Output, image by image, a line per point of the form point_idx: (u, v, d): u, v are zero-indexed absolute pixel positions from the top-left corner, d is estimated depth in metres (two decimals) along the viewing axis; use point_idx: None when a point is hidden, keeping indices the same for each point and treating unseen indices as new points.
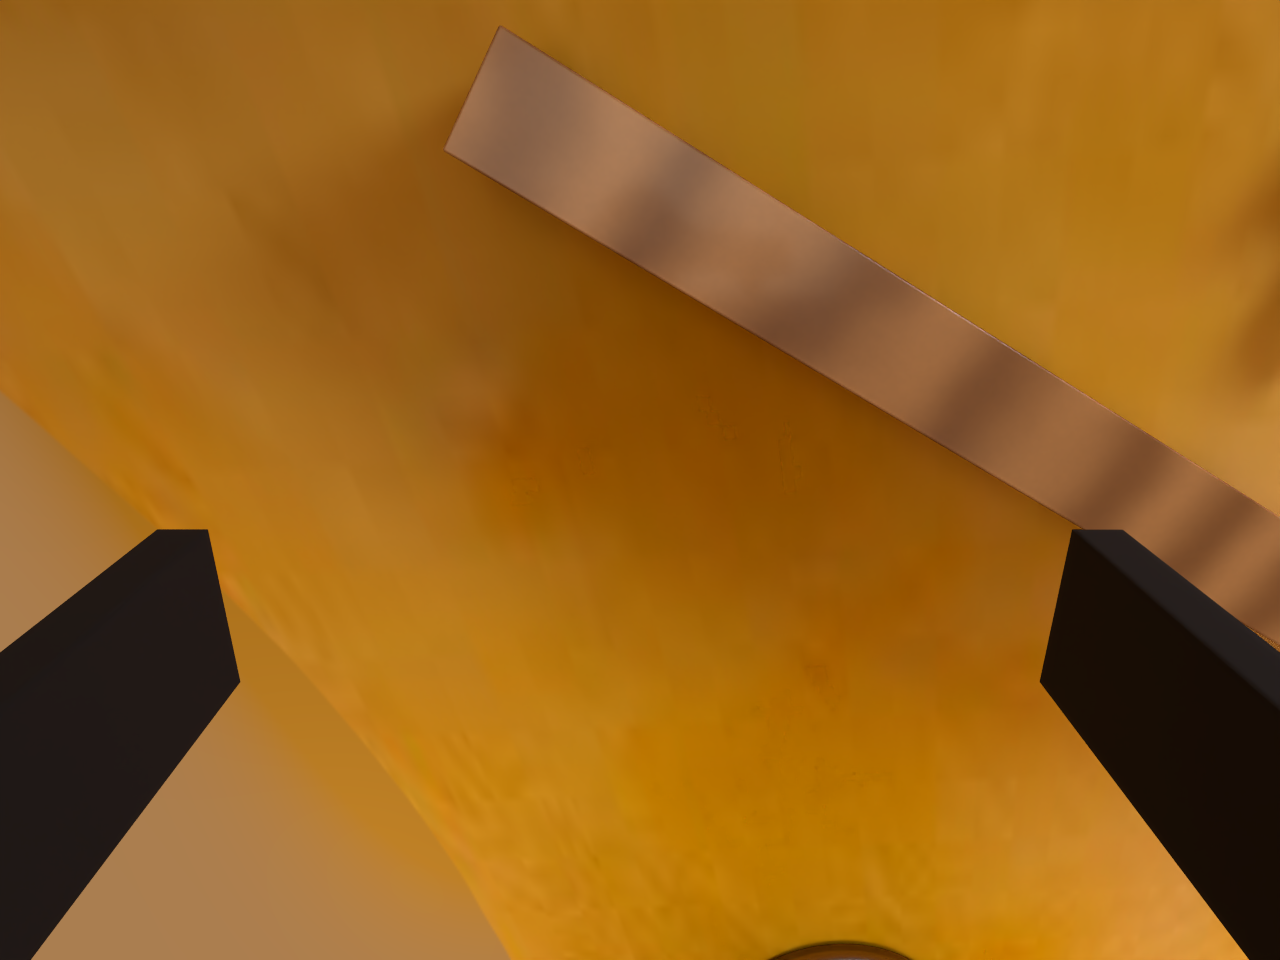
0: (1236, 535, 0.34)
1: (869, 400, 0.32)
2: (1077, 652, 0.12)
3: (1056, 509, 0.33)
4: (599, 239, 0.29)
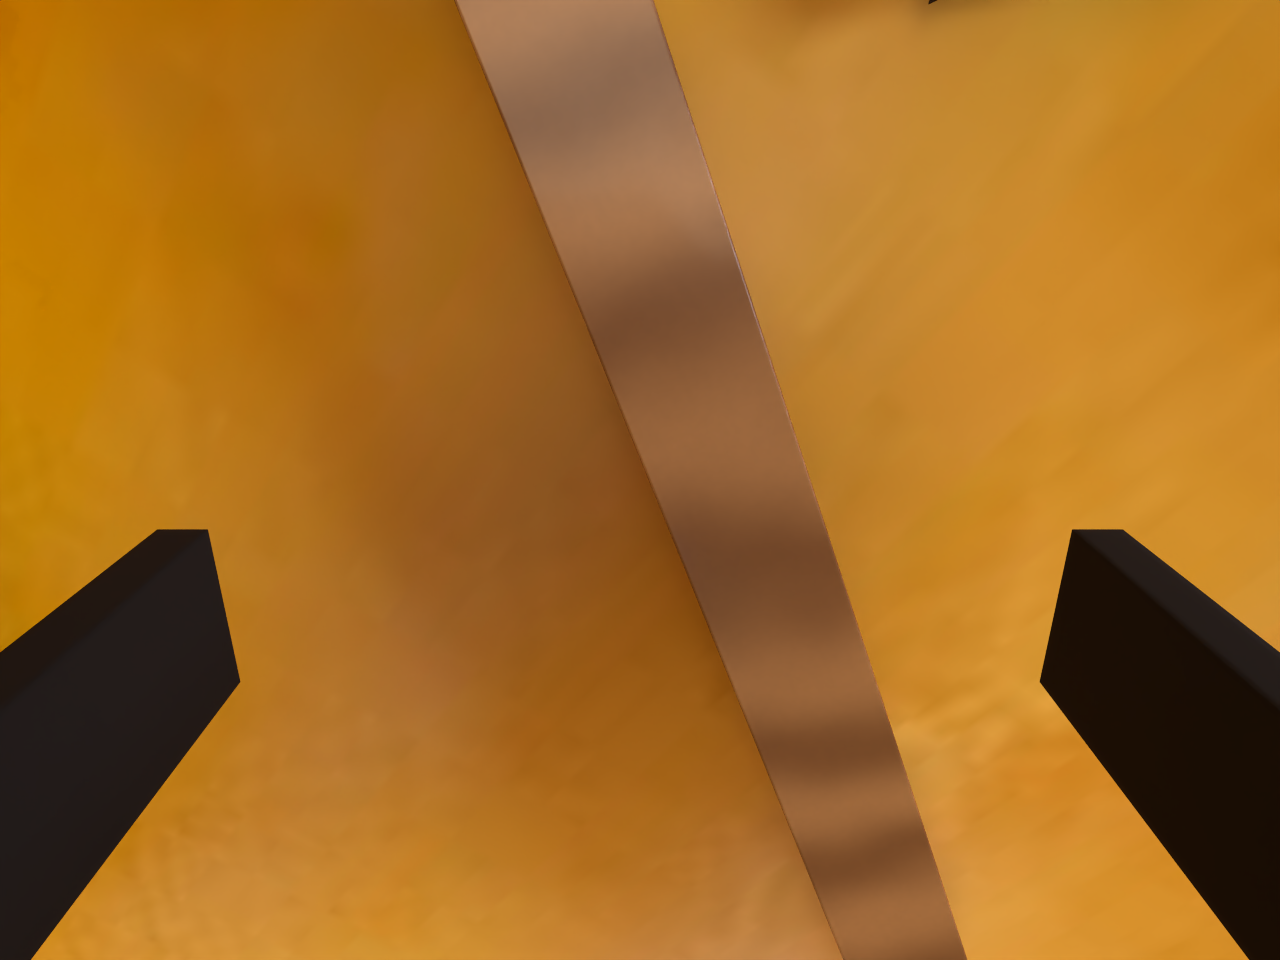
0: None
1: None
2: (1077, 652, 0.12)
3: None
4: None
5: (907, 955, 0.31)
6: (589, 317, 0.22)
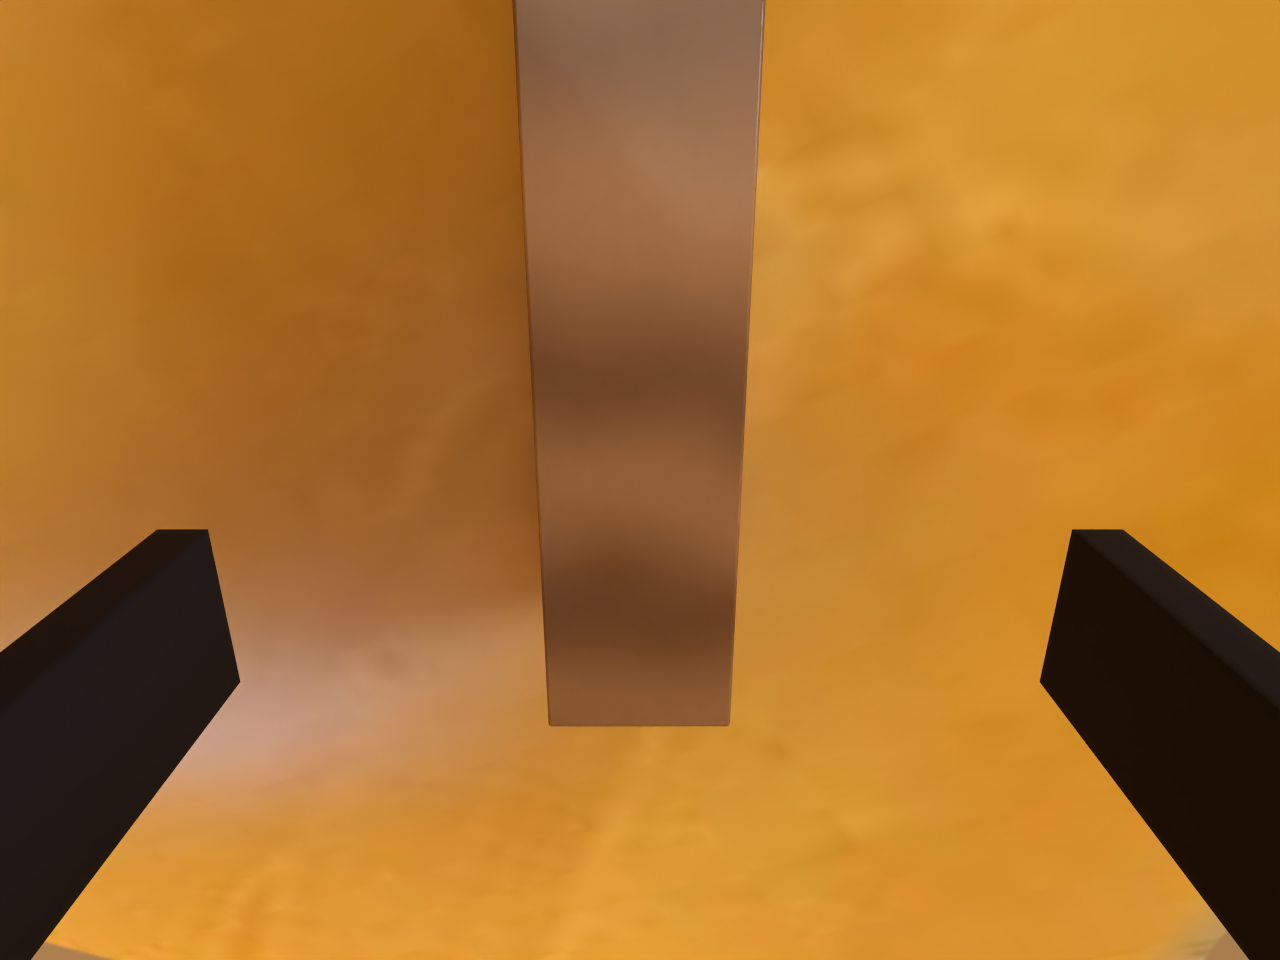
0: None
1: None
2: (1077, 652, 0.12)
3: None
4: None
5: (646, 324, 0.16)
6: None
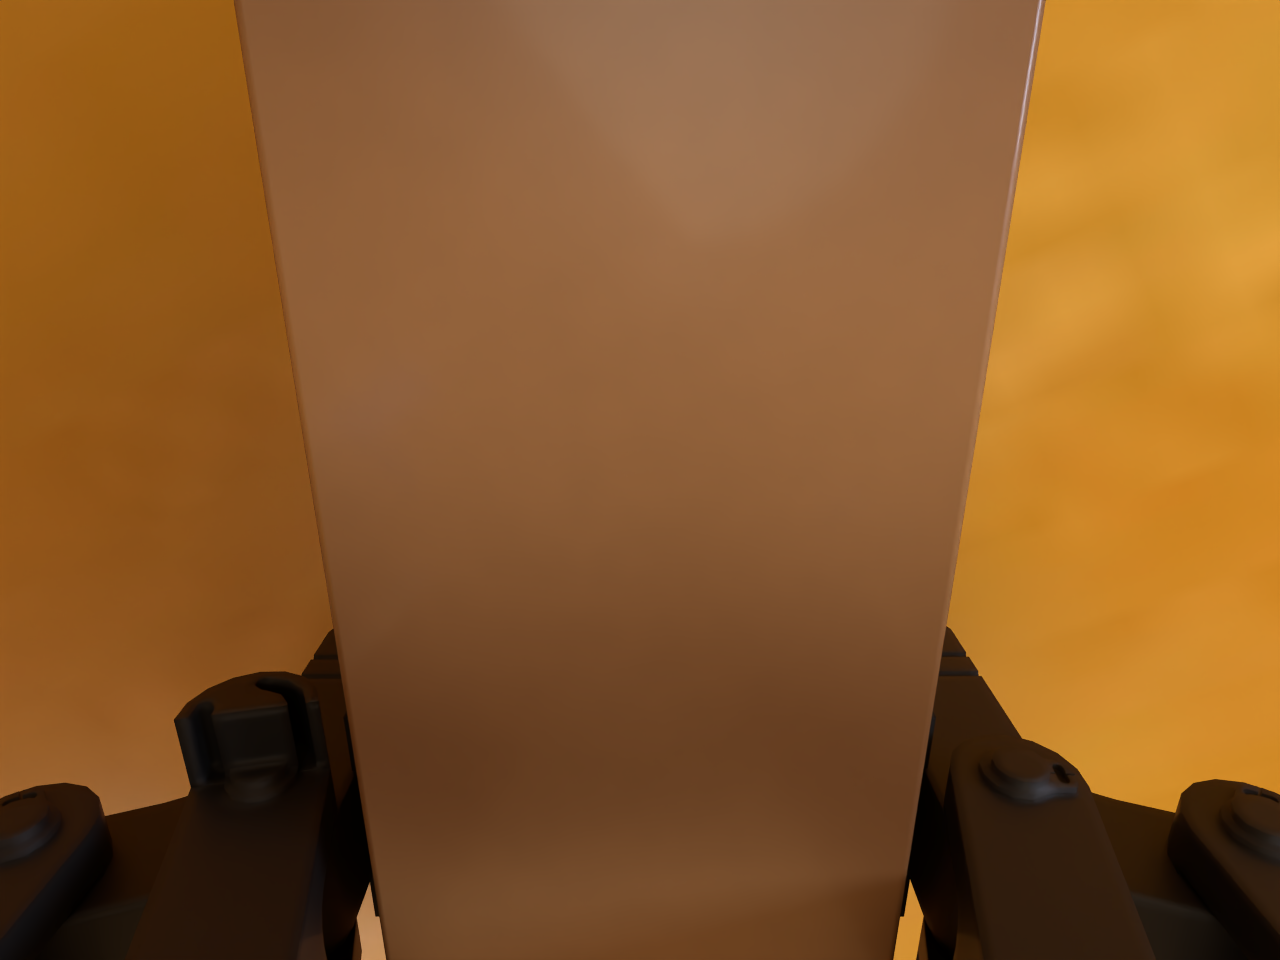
0: None
1: None
2: None
3: None
4: None
5: (658, 632, 0.06)
6: None
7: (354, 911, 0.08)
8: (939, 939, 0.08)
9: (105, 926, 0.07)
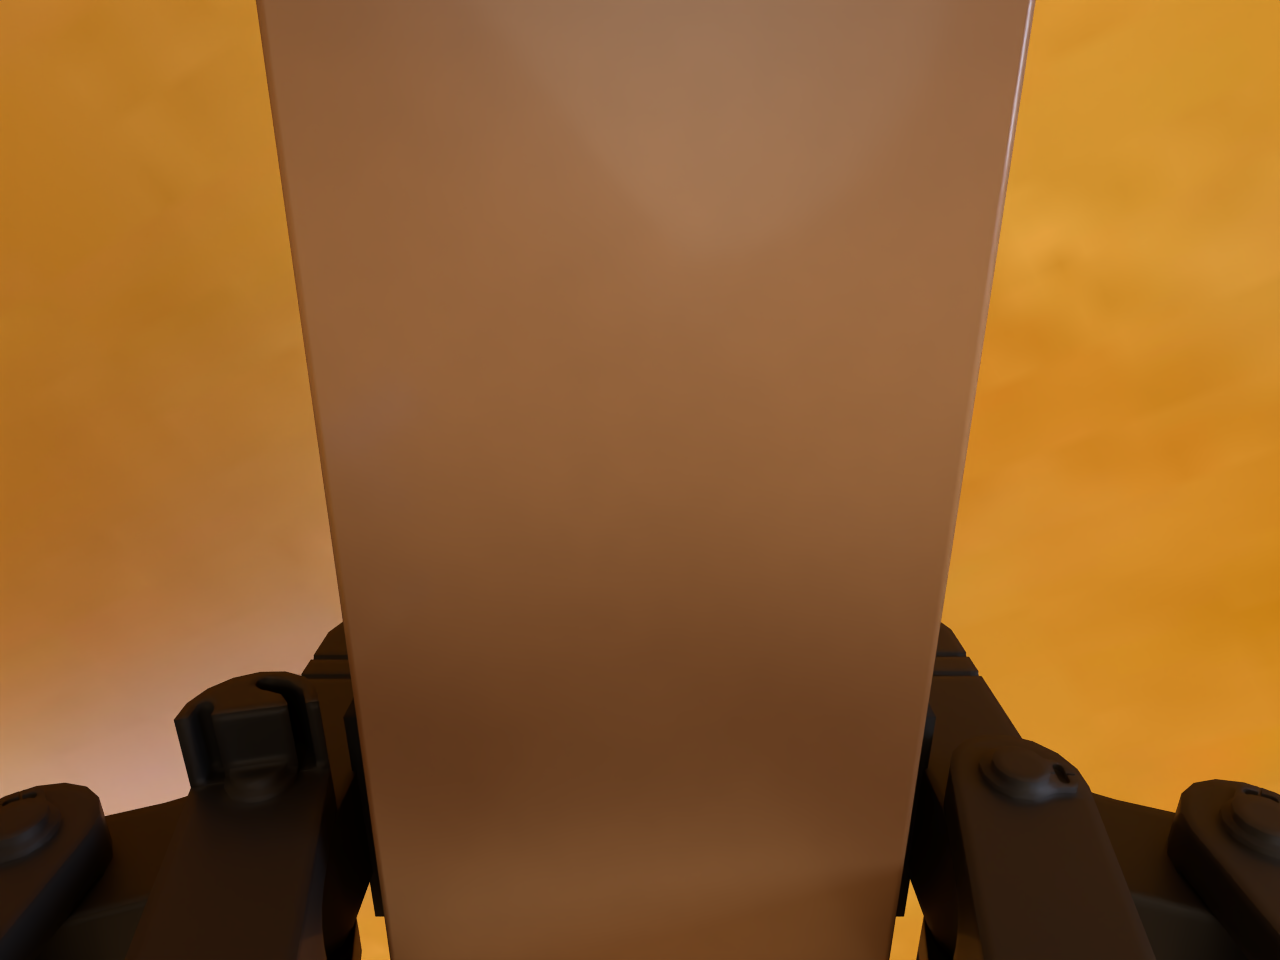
0: None
1: None
2: None
3: None
4: None
5: (662, 616, 0.06)
6: None
7: (354, 911, 0.08)
8: (939, 939, 0.08)
9: (105, 926, 0.07)
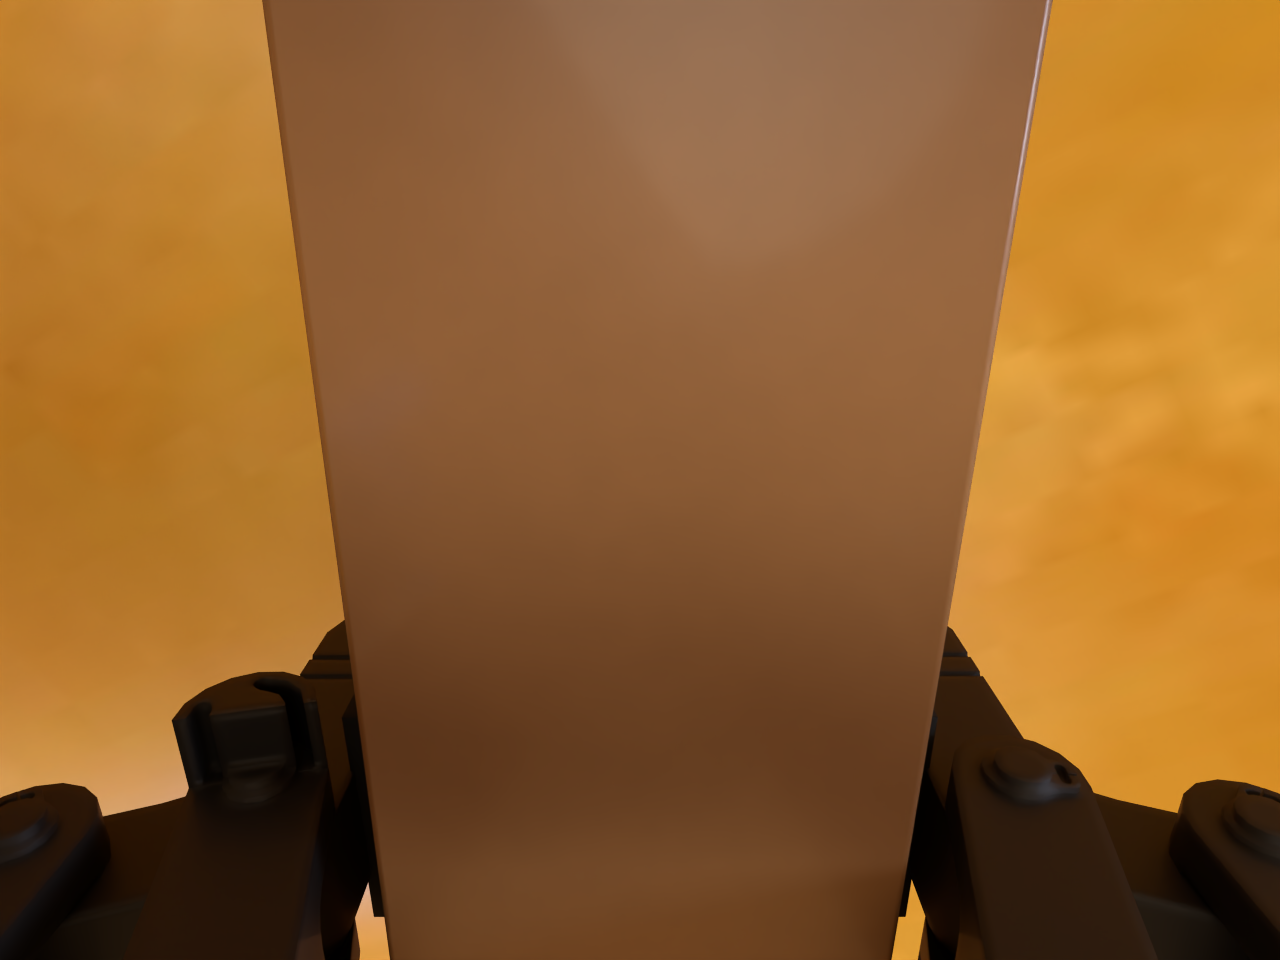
0: None
1: None
2: None
3: None
4: None
5: (666, 625, 0.06)
6: None
7: (352, 911, 0.08)
8: (941, 939, 0.08)
9: (103, 926, 0.07)
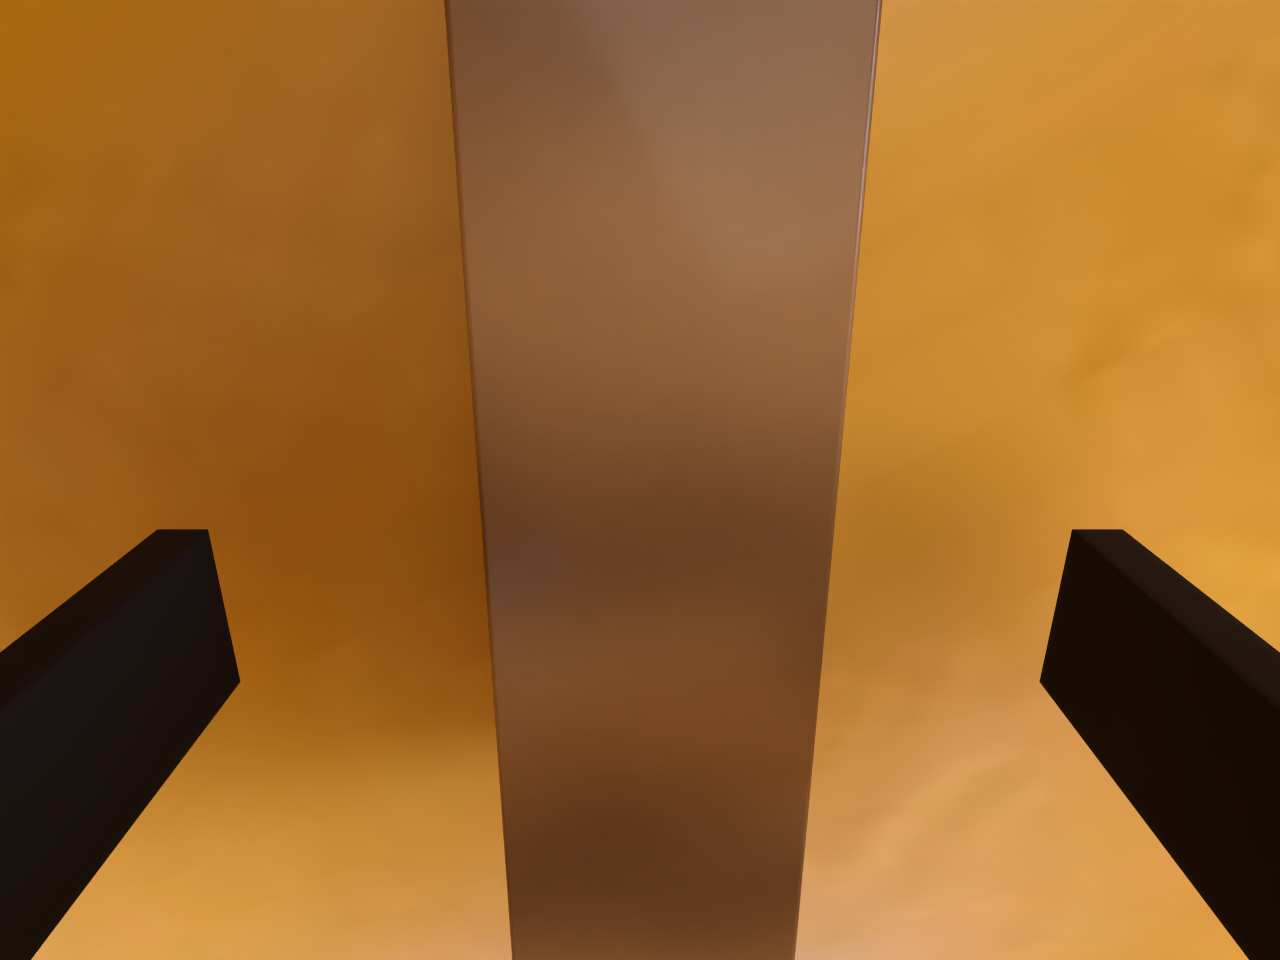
0: None
1: None
2: (1077, 652, 0.12)
3: None
4: None
5: (669, 465, 0.10)
6: None
7: None
8: None
9: None
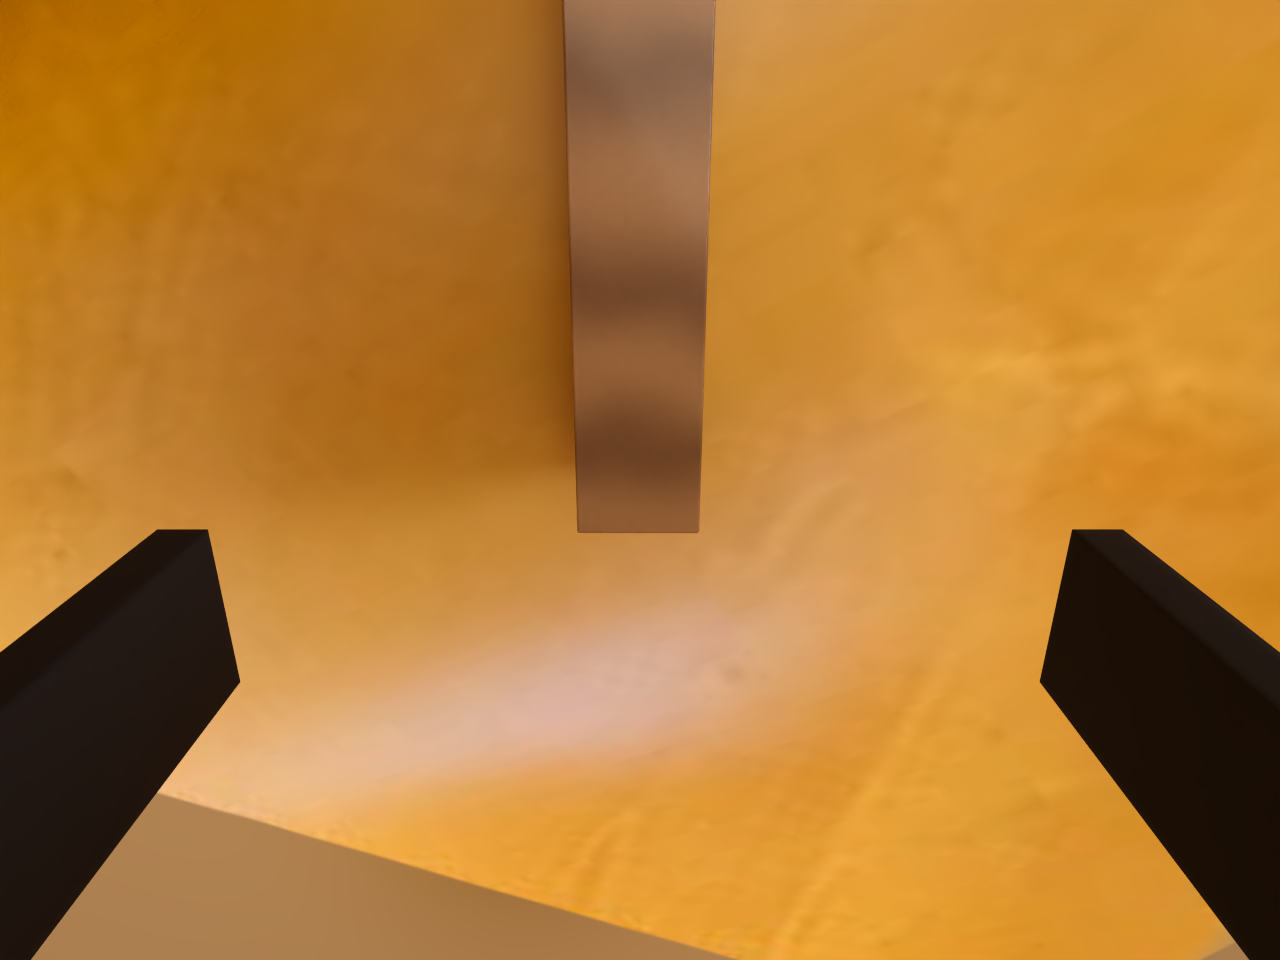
0: None
1: None
2: (1077, 652, 0.12)
3: None
4: None
5: (643, 254, 0.26)
6: None
7: None
8: None
9: None
